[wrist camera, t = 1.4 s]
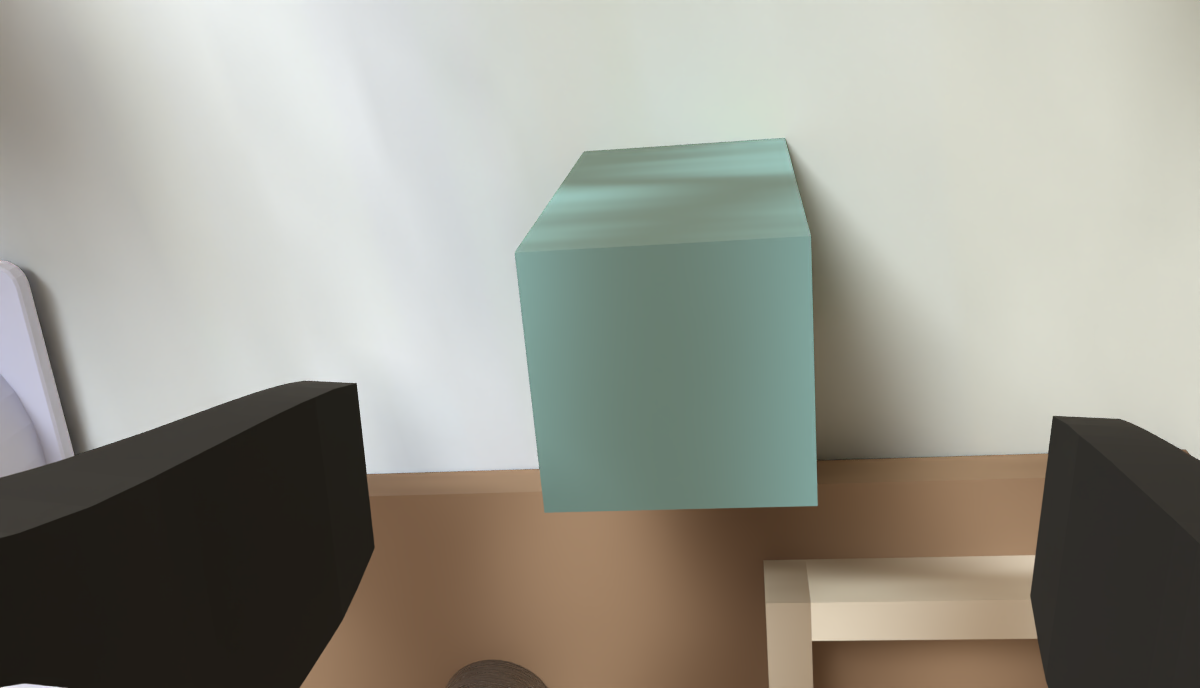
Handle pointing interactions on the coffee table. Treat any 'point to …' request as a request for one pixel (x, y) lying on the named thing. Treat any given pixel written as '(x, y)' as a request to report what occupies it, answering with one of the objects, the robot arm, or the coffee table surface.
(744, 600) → the brown board
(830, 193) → the coffee table surface
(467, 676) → the brushed metal cylinder
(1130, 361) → the coffee table surface
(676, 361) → the peg
